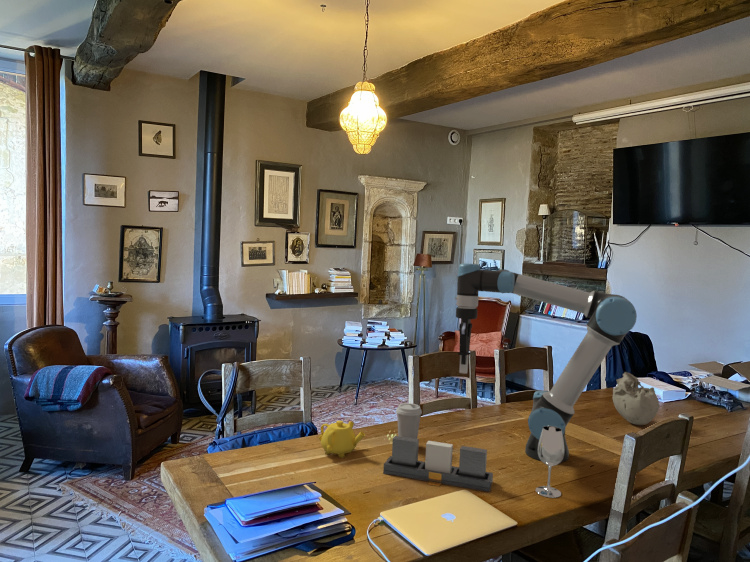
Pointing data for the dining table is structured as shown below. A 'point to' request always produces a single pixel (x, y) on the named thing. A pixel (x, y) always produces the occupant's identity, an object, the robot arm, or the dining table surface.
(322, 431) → the teapot
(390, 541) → the dining table surface
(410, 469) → the rack
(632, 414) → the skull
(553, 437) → the wineglass
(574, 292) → the robot arm
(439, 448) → the panel
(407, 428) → the coffee cup
